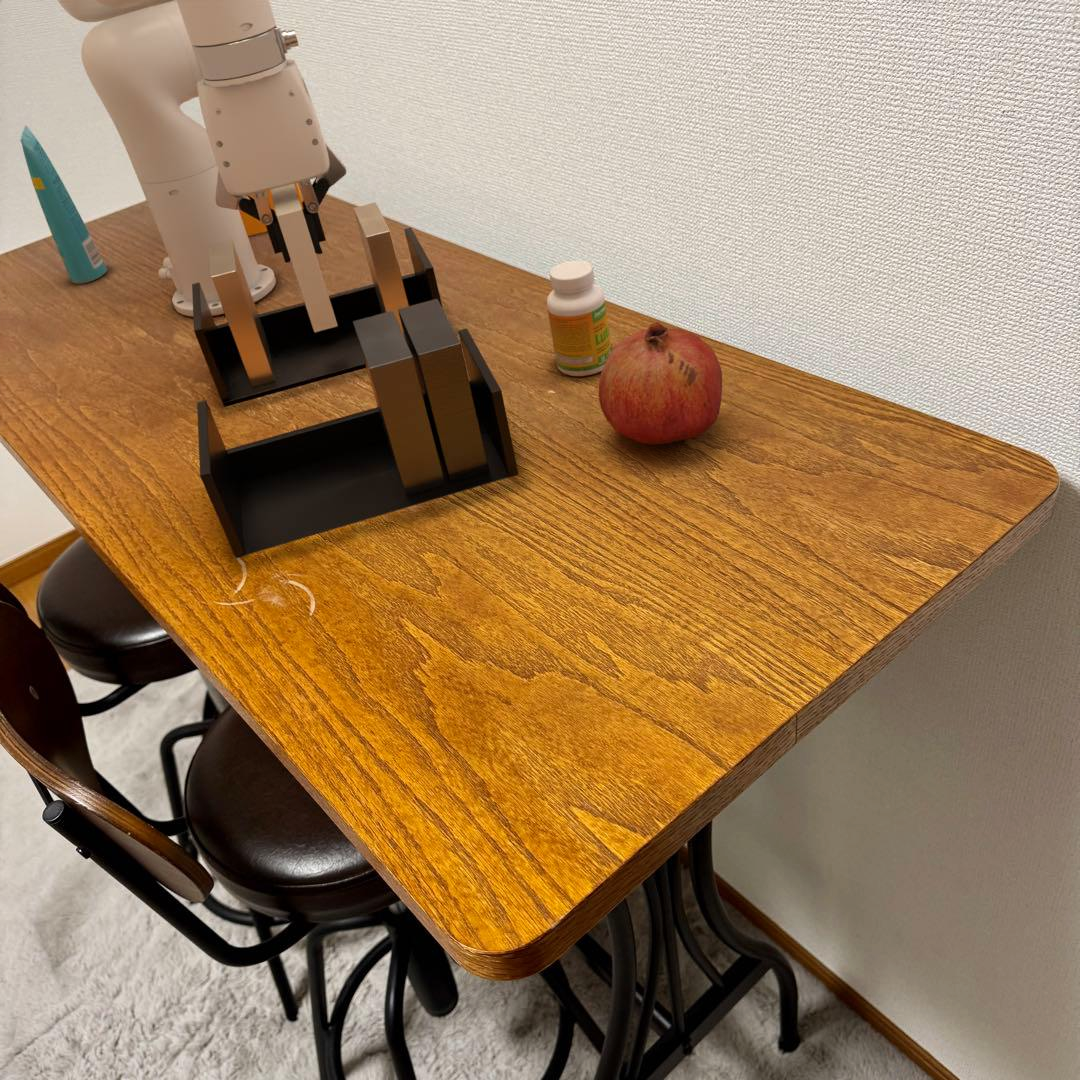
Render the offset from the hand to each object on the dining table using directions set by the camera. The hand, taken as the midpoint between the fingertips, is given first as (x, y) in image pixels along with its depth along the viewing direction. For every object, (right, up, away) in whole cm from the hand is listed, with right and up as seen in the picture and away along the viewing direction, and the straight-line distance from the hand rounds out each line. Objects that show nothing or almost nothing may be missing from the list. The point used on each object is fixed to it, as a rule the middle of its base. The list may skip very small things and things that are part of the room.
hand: (302, 252), depth 103 cm
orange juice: (-14, +16, +43) cm, 48 cm away
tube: (-37, +7, +37) cm, 53 cm away
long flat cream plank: (+1, -5, +4) cm, 7 cm away
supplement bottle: (+28, -12, -3) cm, 30 cm away
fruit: (+34, -20, -15) cm, 42 cm away
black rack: (+9, -24, -14) cm, 29 cm away
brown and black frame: (+2, -9, +7) cm, 12 cm away
